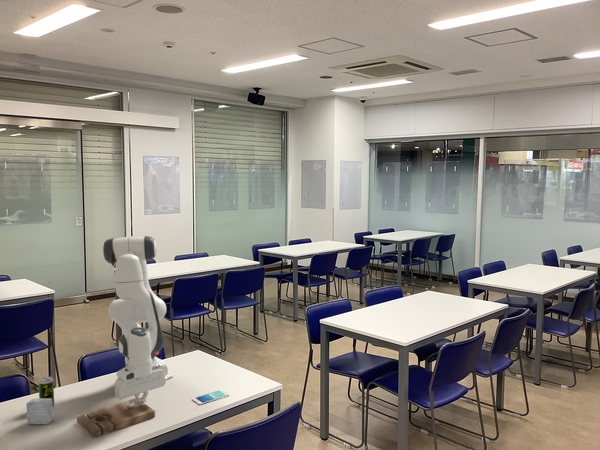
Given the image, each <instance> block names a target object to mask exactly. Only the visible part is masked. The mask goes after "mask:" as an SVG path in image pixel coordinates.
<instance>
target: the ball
mask: <svg viewBox="0 0 600 450" xmlns="http://www.w3.org/2000/svg"><path fill="white" fill-rule="evenodd" d="M134 407H135V402H134V401H129V402H128V403H127V408H128V409H133V408H134Z"/></svg>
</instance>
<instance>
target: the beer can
mask: <svg viewBox="0 0 600 450" xmlns="http://www.w3.org/2000/svg"><path fill="white" fill-rule="evenodd" d="M54 384H55V383H54V378H53V376H44V377H41V378H40V379H38V397H39V398H38V399H42V398H52V405H53V406H54V407H55V386H54Z"/></svg>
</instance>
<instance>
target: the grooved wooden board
mask: <svg viewBox="0 0 600 450" xmlns="http://www.w3.org/2000/svg"><path fill="white" fill-rule="evenodd" d="M129 401H134V402H135V407H134V408H133V409H128V408H127V403H128V402H129ZM155 417H156V410H154V409H153V408H152V407H151V406H149V405H147V404H146V403H145V402H144V403H141V404H138V403H137V399H136V397H134V398H132V399H128V400H126V401H122V402H120V403H116V404H113V405H109V406H105V407H103V408H99V409H96V410H93V411H90V412H87V413H86V414H85V413H83V414H79V415H77V416H76V423H77V424H78V425H79V426H80V427H81V428H82V429H83V430H84V429H85V430H86V431H87V432H88V433H89V434H88V433H87V432H86V431H85V430H84V431H85V432H86V433H87V434H88V435H90V437H92V438H93V439H95V438H97V436H98V437H101V436H102V435H107V434H109V433H112V432H115V431H118V430H120V429H123V428H126V427H129V426H132V425H134V424H138V423H141V422H145V421H147V420H149V419H153V418H155ZM94 437H95V438H94Z"/></svg>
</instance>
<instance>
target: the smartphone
mask: <svg viewBox="0 0 600 450" xmlns="http://www.w3.org/2000/svg"><path fill="white" fill-rule="evenodd" d="M224 394H225V395H224ZM229 394H230V393H228V391H227V392H226V391H225V390H223V389H219V390H215V391H211V392H208V393H205V394H201V395H199V396H195V397H192V398H191V401H192V402H194V403H195V404H197V405H198V406H203V405H205V404H208V403H211V402H214V401H218V400H220V399H219V398H221V399H223V398H222V397H224V398H226V397H225V396H227V397H229V396H228V395H229ZM217 399H218V400H217Z"/></svg>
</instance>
